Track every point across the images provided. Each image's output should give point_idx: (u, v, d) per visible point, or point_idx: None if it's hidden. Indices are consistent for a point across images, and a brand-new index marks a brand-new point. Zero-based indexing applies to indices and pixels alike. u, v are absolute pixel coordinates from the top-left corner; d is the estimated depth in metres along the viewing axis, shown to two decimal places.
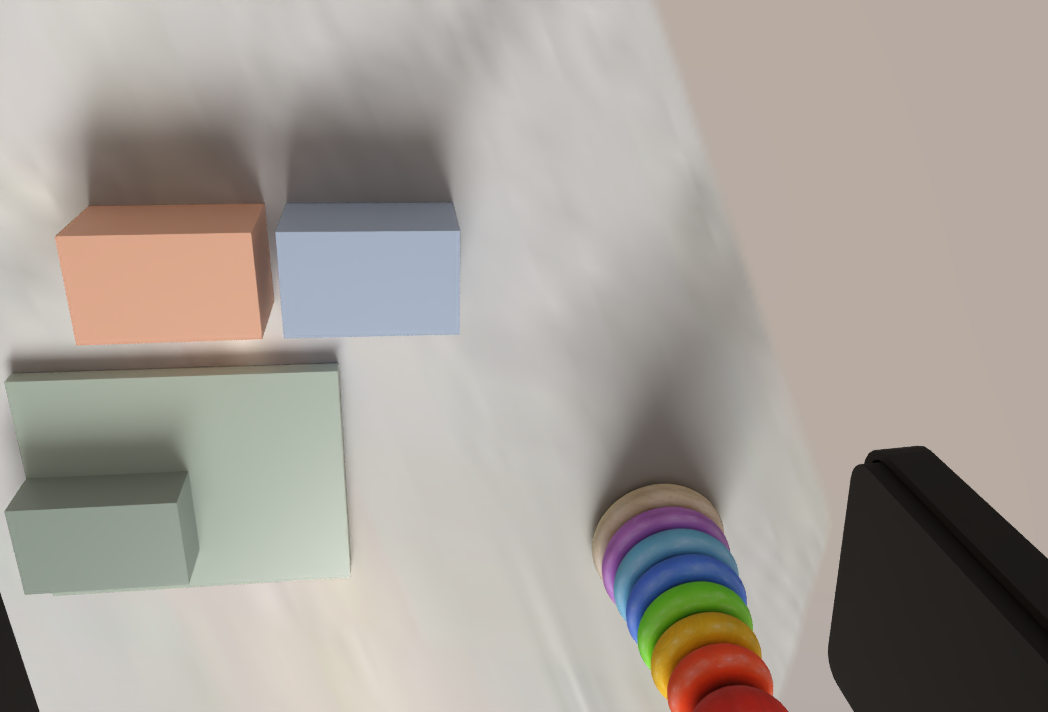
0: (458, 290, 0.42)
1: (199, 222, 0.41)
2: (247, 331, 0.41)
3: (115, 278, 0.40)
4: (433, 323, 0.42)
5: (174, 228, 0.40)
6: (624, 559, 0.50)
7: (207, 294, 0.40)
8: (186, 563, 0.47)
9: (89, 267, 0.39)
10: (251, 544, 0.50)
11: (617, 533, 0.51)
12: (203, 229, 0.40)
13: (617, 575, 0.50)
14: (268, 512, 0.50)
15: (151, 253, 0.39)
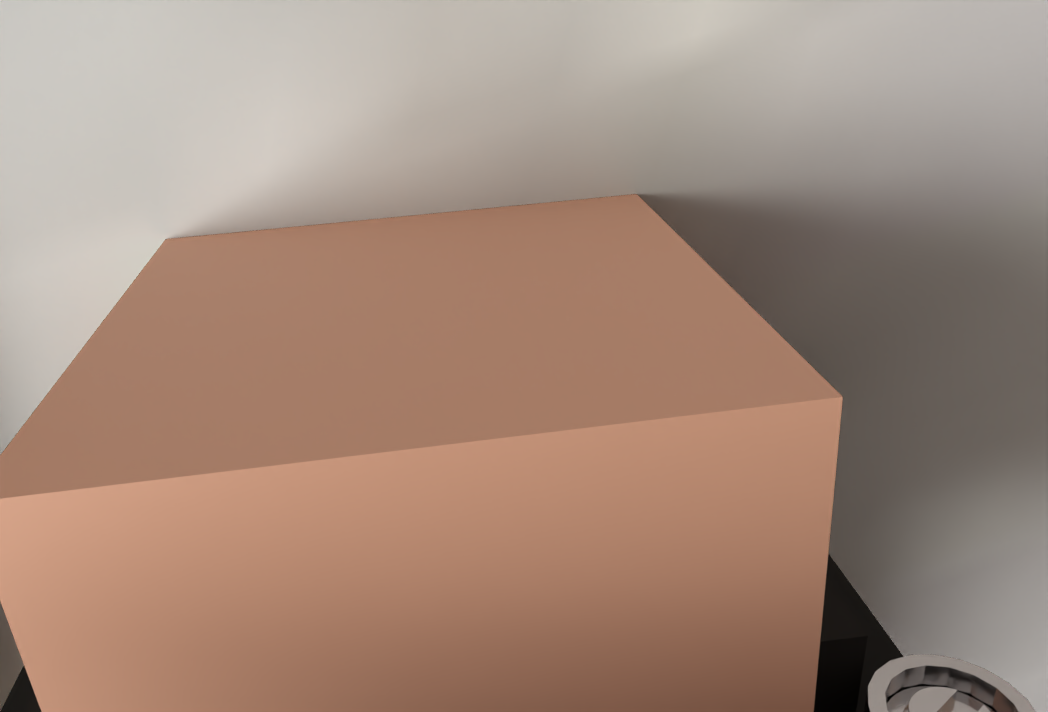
0: None
1: None
2: None
3: None
4: None
5: None
6: None
7: None
8: None
9: (612, 585, 0.06)
10: None
11: None
12: None
13: None
14: None
15: None
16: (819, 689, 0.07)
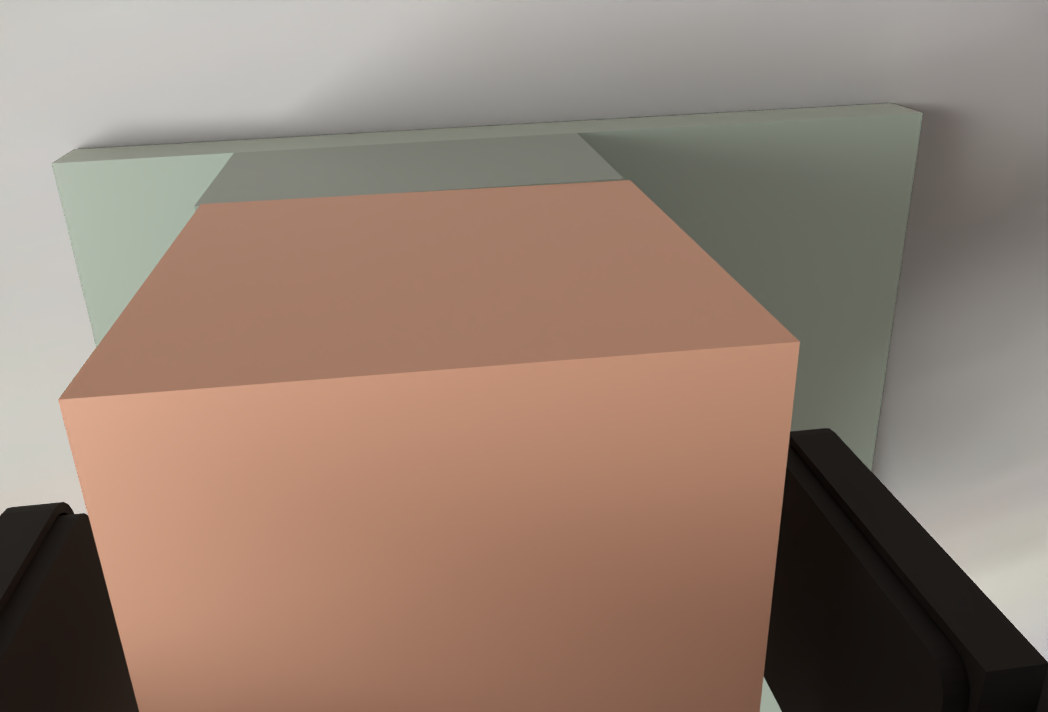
0: None
1: None
2: None
3: (538, 612, 0.07)
4: None
5: None
6: None
7: None
8: None
9: (599, 497, 0.07)
10: None
11: None
12: None
13: None
14: None
15: None
16: None
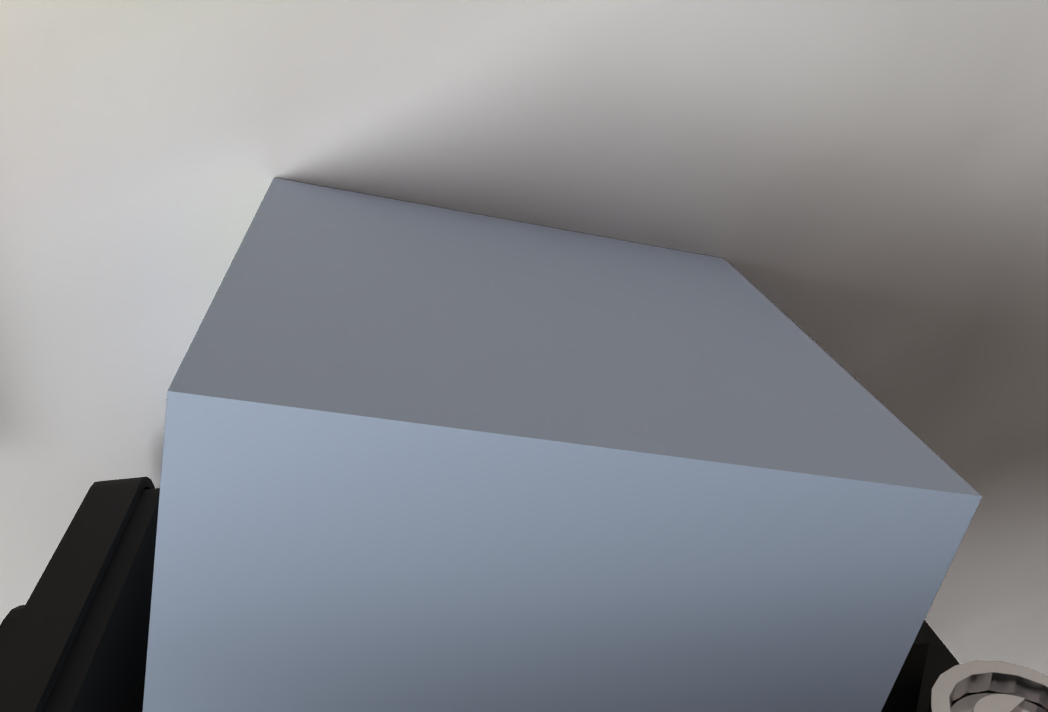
0: None
1: None
2: None
3: None
4: None
5: None
6: None
7: None
8: None
9: None
10: None
11: None
12: None
13: None
14: None
15: None
16: None
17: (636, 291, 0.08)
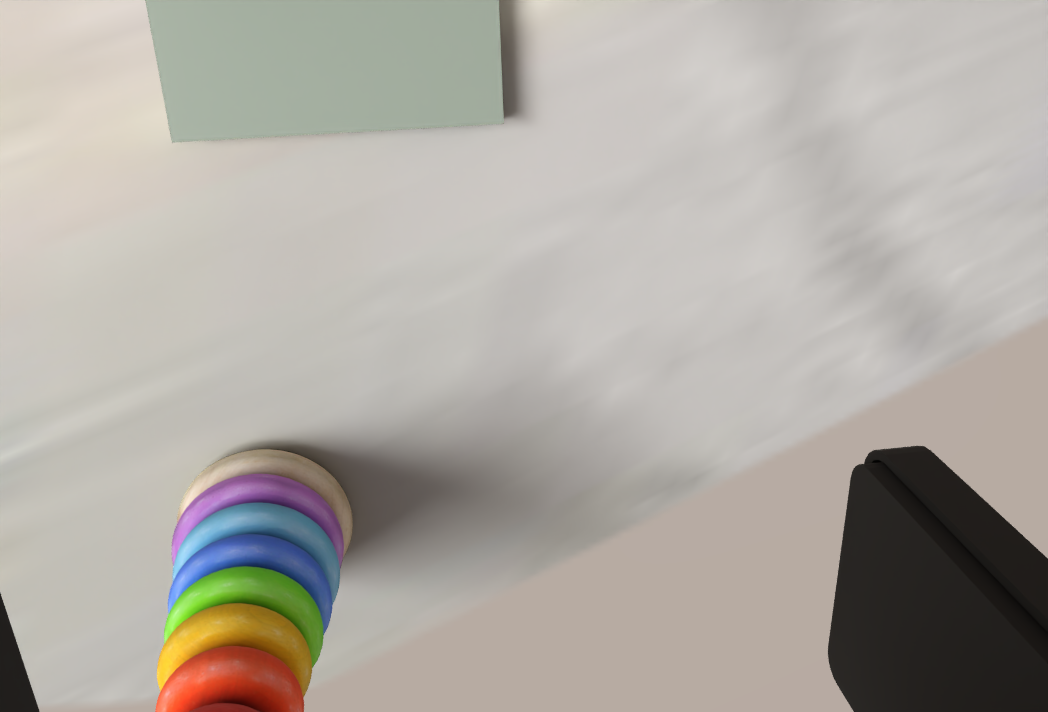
0: None
1: None
2: None
3: None
4: None
5: None
6: (290, 510, 0.39)
7: None
8: None
9: None
10: None
11: (301, 485, 0.41)
12: None
13: (267, 507, 0.38)
14: (279, 24, 0.34)
15: None
16: None
17: None
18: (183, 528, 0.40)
